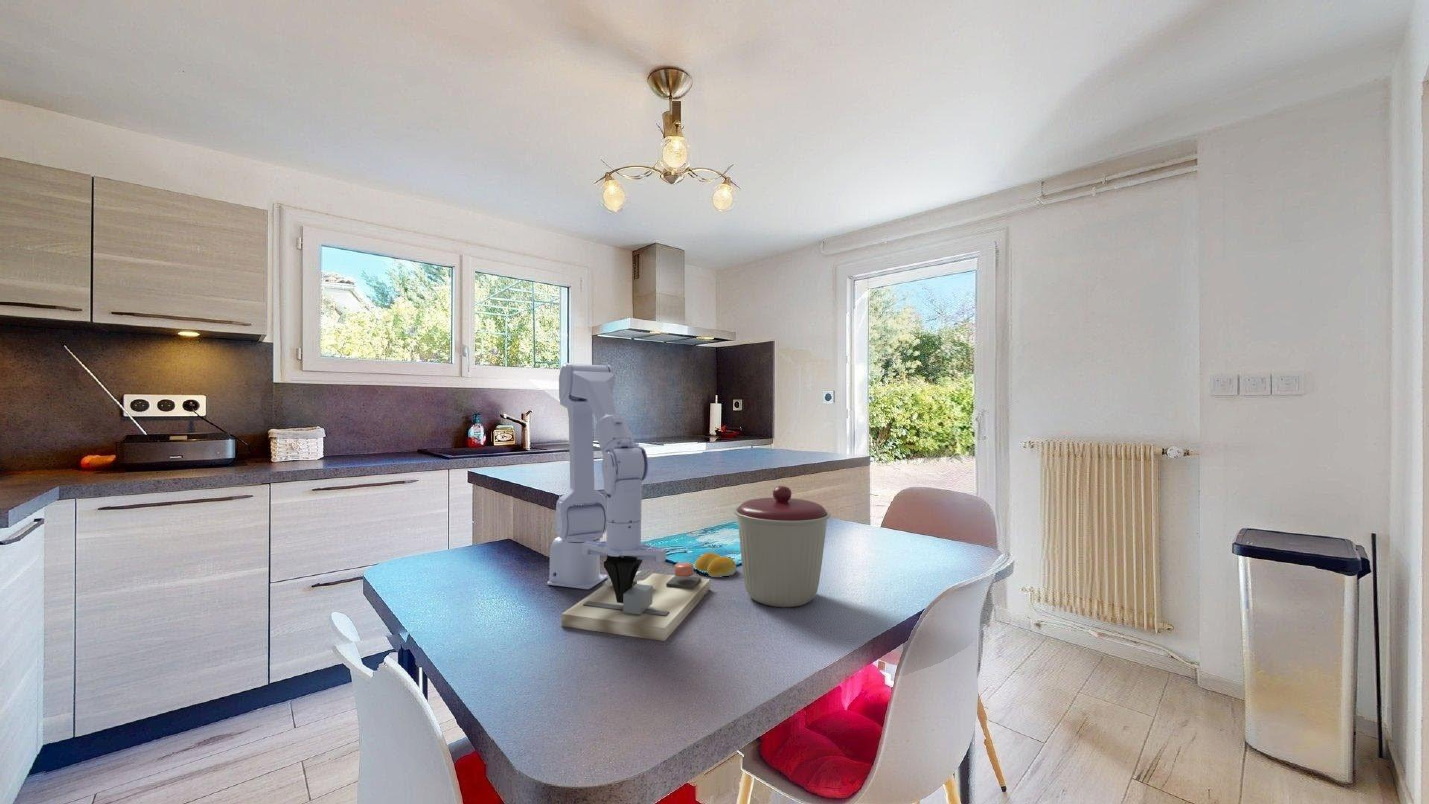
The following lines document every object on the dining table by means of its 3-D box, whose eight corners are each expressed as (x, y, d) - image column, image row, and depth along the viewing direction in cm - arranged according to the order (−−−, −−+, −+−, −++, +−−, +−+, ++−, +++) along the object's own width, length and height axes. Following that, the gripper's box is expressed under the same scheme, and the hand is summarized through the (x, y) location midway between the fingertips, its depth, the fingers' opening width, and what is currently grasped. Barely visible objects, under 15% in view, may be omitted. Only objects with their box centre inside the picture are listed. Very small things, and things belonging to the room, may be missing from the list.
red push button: (671, 575, 101) (671, 567, 101) (678, 570, 105) (678, 561, 105) (689, 577, 100) (690, 569, 100) (695, 571, 104) (696, 563, 104)
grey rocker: (605, 586, 100) (604, 581, 100) (615, 579, 103) (614, 574, 103) (644, 579, 97) (643, 575, 97) (653, 573, 101) (652, 568, 101)
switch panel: (561, 626, 87) (561, 606, 87) (625, 579, 110) (626, 564, 110) (664, 641, 82) (665, 620, 82) (709, 589, 105) (710, 573, 105)
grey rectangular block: (623, 612, 87) (623, 593, 87) (636, 601, 92) (636, 583, 92) (640, 614, 86) (640, 595, 86) (652, 603, 91) (652, 585, 91)
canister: (824, 584, 110) (825, 480, 110) (835, 619, 92) (836, 495, 92) (735, 580, 111) (737, 478, 111) (729, 614, 93) (731, 492, 93)
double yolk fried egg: (721, 582, 111) (721, 562, 111) (688, 572, 116) (689, 554, 116) (744, 572, 117) (744, 554, 117) (712, 564, 123) (712, 546, 123)
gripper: (572, 521, 88) (571, 604, 88) (655, 528, 84) (653, 615, 84) (594, 513, 95) (593, 590, 95) (671, 519, 91) (670, 599, 91)
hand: (622, 601), depth 90 cm, fingers closed
